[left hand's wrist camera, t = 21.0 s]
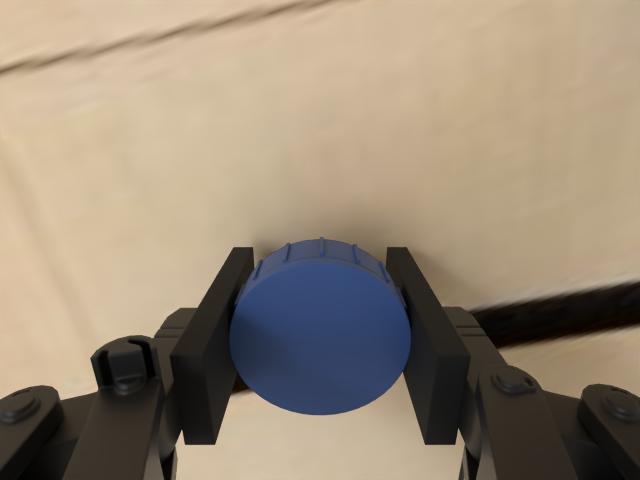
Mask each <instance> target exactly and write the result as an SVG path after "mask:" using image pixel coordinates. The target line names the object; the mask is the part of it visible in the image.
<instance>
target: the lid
mask: <svg viewBox="0 0 640 480" xmlns="http://www.w3.org/2000/svg"><path fill="white" fill-rule="evenodd" d="M234 306H235V307H236V309H235V311H234V314H233V316H232V319H231V323H230V328H229V344H230V353H231V357H232V360H233V363H234V365H235V368H236V369H237V371H238V373H239V375H240V376H241V378H242V379H243V380H244V382H245V383H246V384H247V385H248V386H249V387H250V388H251V389H252V390H253V391H254V392H255V393H256V394H258V395H259V396H260V397H262V398H263V399H265V400H266V401H268V402H270V403H271V404H274V405H276V406H278V407H280V408H283V409H286V410H289V411H292V412H296V413H301V414H308V415H332V414H339V413H344V412H348V411H351V410H355V409H357V408H360V407H362V406H365V405H367V404H369V403H370V402H372V401H374V400H376V399H377V398H378V397H380V396H381V395H383V394H384V393H385V392H386V391H387V390H388V389H389V388H390V387H391V386H392V385H393V384H394V383H395V382H396V381H397V379H398V378H399V376H400V375H401V373H402V372H403V370H404V368H405V365H406V363H407V361H408V357H409V354H410V346H411V328H410V322H409V319H408V316H407V313H406V311H405V310H406V309H408V308H407V306H406V303H405V301H404V299H403V296H402V294H401V292H400V289H399V287H396V286H395V284H394V282H393V280H392V278H391V276H390V275H389V273H388V272H387V271H386V268H385V266H384V263H383V262H382V261H381V262H380V263H379V262H378V261H377V260H376V259H375V258H374V257H372V256H371V255H370V254H368V253H367V252H365V251H363V250H361V249H360V248H358V247H357V245H356V244H354V245H350V244H347V243H343V242H340V241H334V240H324V238H323V237H320V239H315V240H305V241H301V242H297V243H293V244H290V243H287V244H286V246H285V247H283V248H281V249H279V250H277V251H275V252H273V253H272V254H271V255H269V256H268V257H266V258H265V259H264V260H263V261H262V260H259V262H258V264H257V267H256V268H255V269H254V271H253V272H252V273H251V275H250V277H249V278H248V280H247V282H246V285H245V284H243V285H242V287H241V289H240V292H239V294H238V296H237V299H236V301H235V304H234Z"/></svg>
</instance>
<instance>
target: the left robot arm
mask: <svg viewBox="0 0 640 480" xmlns="http://www.w3.org/2000/svg"><path fill="white" fill-rule="evenodd" d="M253 271H254V255H253V247H234V248H233V249H232V251H231V253H230V254H229V256H228V258H227V259H226V261H225V263H224V265H223V266H222V268H221V270H220V271H219V273H218V275H217V276H216V278H215V280H214V281H213V283H212V285H211V286H210V288H209V290H208V291H207V293H206V295H205V296H204V298H203V300H202V301H201V303H200V305H199V306H198V308H180V309H178V310H177V311H175V312H174V313H172V314H171V315H170V316H168V317H167V319H166V320H165V321H164V323H163V324H162V326H161V327H160V329H159V330H158V331H157V333H156V334H155V335H154V338H150V337H147V336H142V335H135V336H127V337H123V338H119V339H116V340H114V341H111V342H109V343H107V344H105V345H104V346H102V347H101V348H99V349H98V350H97V351H96V352H95V353H94V354H93V356H92V357H91V358H90V359H91V363H92V366H93V370H94V374H95V377H96V381H97V385H98V388H99V389H98V391H97V392H94V393H91V394H87V395H83V396H78V397H74V398H69V399H65V400H60V397H59V394H58V391H57V390H55V389H54V388H53V387H51V386H44V385H41V386H34V387H28V388H25V389H22V390H19V391H16V392H14V393H12V394H10V395H8V396H6V397H4V398H2V399H1V400H0V480H176V470H177V460H178V459H177V452H176V447H175V444H176V442H177V440H178V437H179V435H180V433H181V430H183V436H184V442H185V445H215V443H216V440H217V437H218V434H219V430H220V427H221V424H222V421H223V417H224V414H225V411H226V408H227V404H228V401H229V398H230V395H231V391H232V388H233V385H234V382H235V378H236V375H237V372H238V371H237V369H236V368H235V365H234V363H233V360H232V357H231V353H230V344H229V328H230V323H231V319H232V316H233V314H234V311H235V309H236V307H235V306H234V304H235V301H236V299H237V296H238V294H239V292H240V289H241V287H242V285H243V284H245V285H246V282H247V280H248V278H249V277H250V275H251V273H252V272H253ZM386 271H387V272H388V273H389V275H390V276H391V278H392V280H393V282H394V284H395V286H396V287H399V289H400V292H401V294H402V296H403V299H404V301H405V303H406V306H407V308H408V309H406V310H405V311H406V313H407V316H408V319H409V322H410V328H411V346H410V354H409V357H408V361H407V363H406V365H405V368H404V370H403V374H404V378H405V381H406V384H407V387H408V391H409V394H410V397H411V400H412V404H413V407H414V410H415V413H416V417H417V420H418V423H419V426H420V430H421V433H422V436H423V440H424V443H425V445H455V443H456V437H457V432H458V428H459V430H460V433H461V435H462V437H463V440H464V442H465V447H464V452H463V458H462V463H461V468H460V473H459V480H464V479H465V480H640V397H638V396H636V395H634V394H632V393H630V392H628V391H626V390H623V389H621V388H618V387H614V386H611V385H604V384H594V385H588V386H587V387H586V388H585V389H583V392H582V395H581V398H580V399H578V398H573V397H569V396H564V395H560V394H555V393H551V392H548V391H544V390H542V388H541V387H540V385H539V384H538V382H537V381H536V380H535V379H534V378H533V377H532V376H530V375H529V374H528V373H527V372H525V371H523V370H521V369H519V368H517V367H514V366H510V365H508V364H507V363H506V362H505V360H504V359H503V357H502V356H501V355H500V353H499V352H498V350H497V349H496V348H495V346H494V345H493V343H492V342H491V341H490V339H489V338H488V337H486V334H485V332H484V331H483V329H482V328H480V325H479V324H478V322H477V321H476V320H475V318H474V317H473V315H471V314H470V313H468V312H467V311H465V310H464V309H462V308H461V307H442V306H441V304H440V303H439V301H438V299H437V298H436V296H435V294H434V293H433V291H432V289H431V288H430V286H429V284H428V283H427V281H426V279H425V278H424V276H423V274H422V273H421V271H420V269H419V267H418V266H417V264H416V262H415V261H414V259H413V257H412V256H411V254H410V252H409V251H408V249H407V247H387V258H386Z"/></svg>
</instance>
